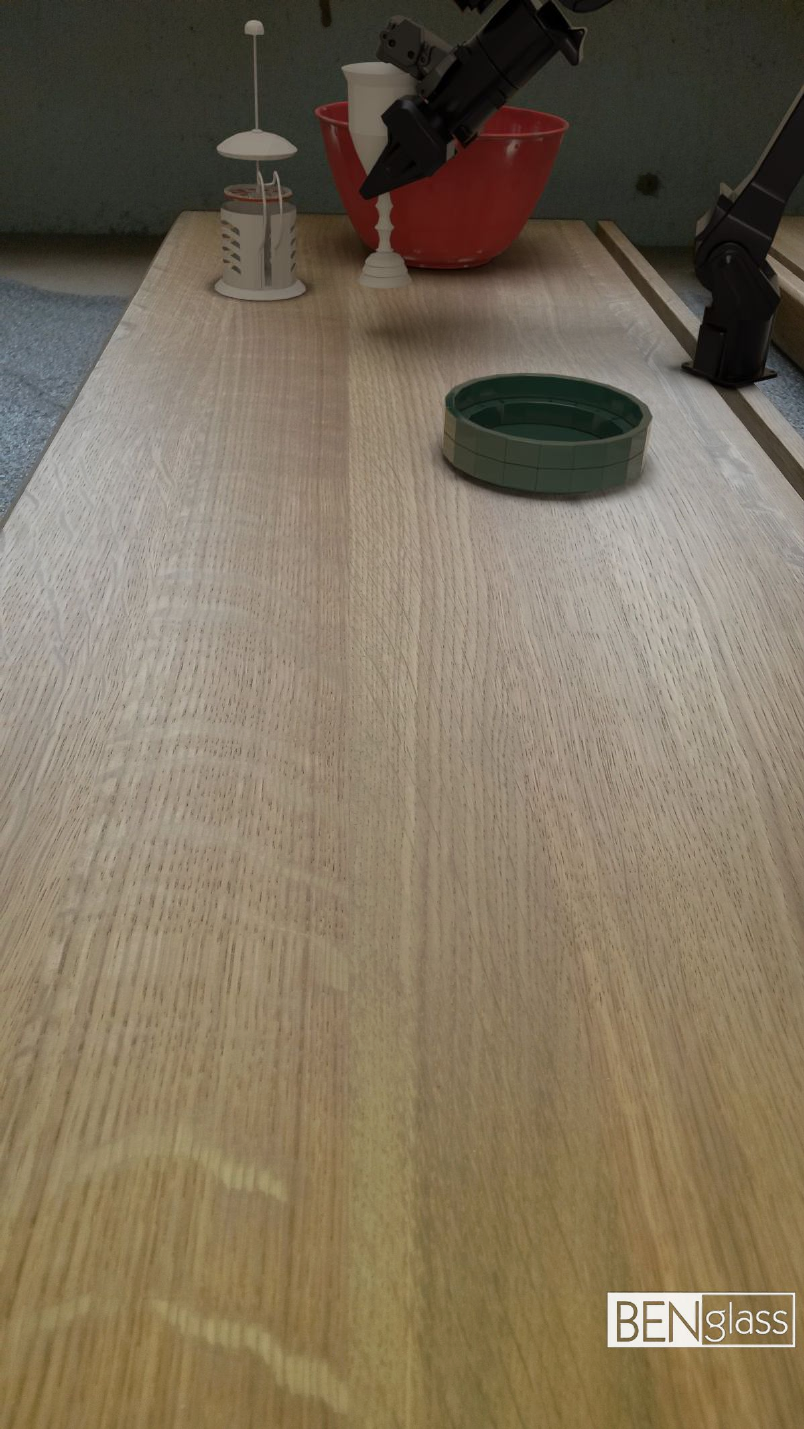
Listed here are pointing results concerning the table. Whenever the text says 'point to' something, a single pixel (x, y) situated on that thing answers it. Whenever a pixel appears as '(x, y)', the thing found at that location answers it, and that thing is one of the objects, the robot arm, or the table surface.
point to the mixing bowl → (453, 189)
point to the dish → (545, 432)
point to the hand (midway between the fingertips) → (370, 190)
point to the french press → (259, 218)
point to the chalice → (377, 154)
